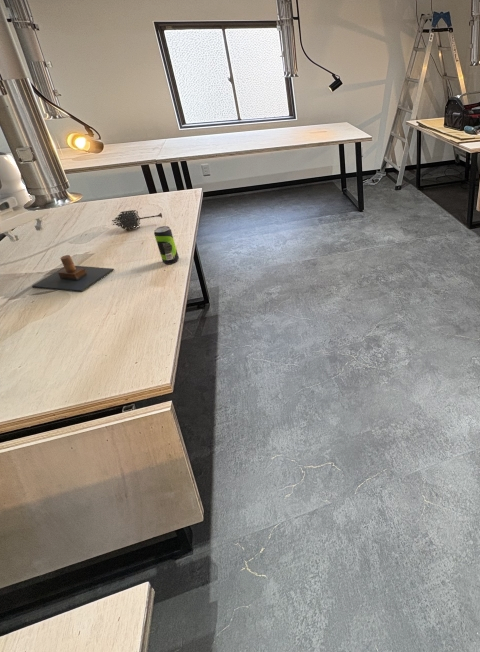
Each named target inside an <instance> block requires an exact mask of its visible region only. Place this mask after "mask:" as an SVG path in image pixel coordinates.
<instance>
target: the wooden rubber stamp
mask: <svg viewBox="0 0 480 652" xmlns="http://www.w3.org/2000/svg"><path fill="white" fill-rule="evenodd" d="M60 261H61V263H62V266H63V267H64V268H65V269H63V270H61V271H59V272H58V274H59V276H60V279H66V280H74V281H78V280H79V279H81V278H83V277H84V276H86V275H87V274H86V271H85V269H84V268H75V266H76V265H75V264H74V261H73V258H72V257H71V255H70V254H67V255H62V256H61V257H60Z"/></svg>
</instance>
